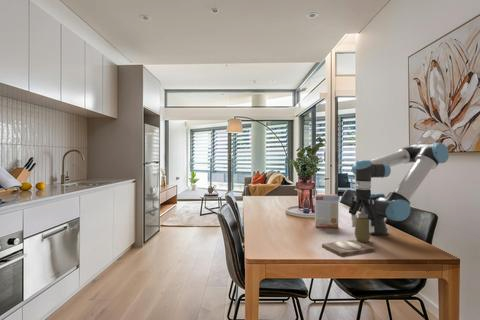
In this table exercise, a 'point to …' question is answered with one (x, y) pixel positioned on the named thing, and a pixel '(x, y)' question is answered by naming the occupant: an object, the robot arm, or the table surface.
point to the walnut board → (348, 247)
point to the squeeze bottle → (362, 227)
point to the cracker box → (326, 210)
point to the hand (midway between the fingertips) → (362, 229)
